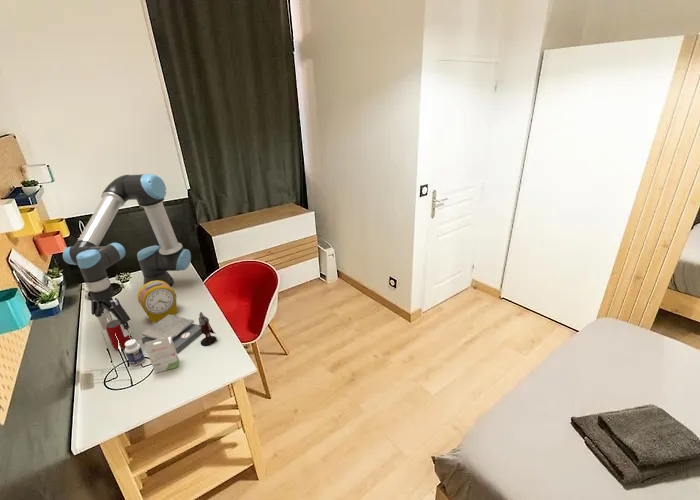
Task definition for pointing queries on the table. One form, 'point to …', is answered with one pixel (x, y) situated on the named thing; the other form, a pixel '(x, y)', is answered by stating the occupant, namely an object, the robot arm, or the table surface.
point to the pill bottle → (134, 352)
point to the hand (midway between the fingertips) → (116, 331)
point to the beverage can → (116, 328)
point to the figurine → (206, 331)
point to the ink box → (162, 354)
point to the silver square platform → (167, 327)
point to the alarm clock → (157, 300)
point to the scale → (181, 337)
